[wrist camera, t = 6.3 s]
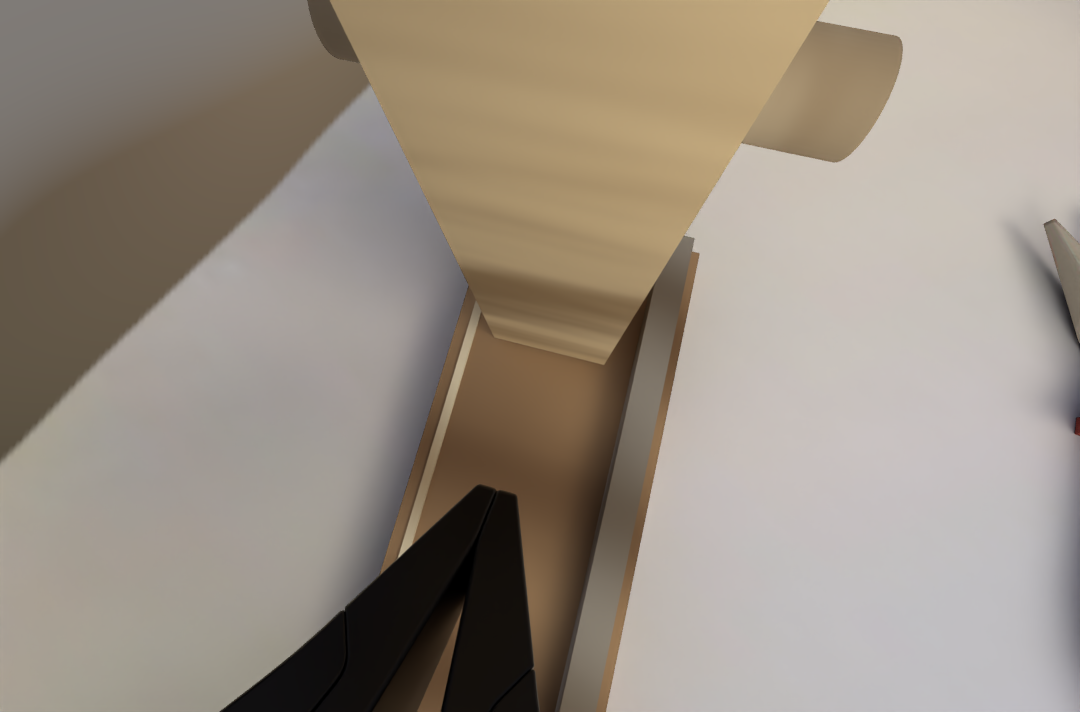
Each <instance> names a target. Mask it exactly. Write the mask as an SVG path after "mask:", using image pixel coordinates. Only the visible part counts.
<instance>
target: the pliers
mask: <svg viewBox="0 0 1080 712" xmlns="http://www.w3.org/2000/svg"><path fill="white" fill-rule="evenodd" d="M1044 228H1045V231H1046V234H1047V238H1048V241H1049V244H1050V248H1051V251H1052V254H1053V258H1054V261H1055V264H1056V268H1057V271H1058V274H1059V278H1060V281H1061V284H1062V288H1063V291H1064V295H1065V298H1066V301H1067V305H1068V308H1069V311H1070V315H1071V318H1072V321H1073V325H1074V328H1075V331H1076V335H1077V338H1078V341H1079V343H1080V244H1079V243H1078V242H1077V241H1076V240H1075V239H1074V238H1073V237H1072V235H1071V234H1070V233H1069V232H1068V231H1067V230H1066V229H1065V228H1064V227H1063V226H1062V225H1061V224H1060V223H1059V222H1058V221H1057V220H1056V219H1053V220H1051V221H1049V222H1046V223H1044ZM1075 434H1076V435H1079V436H1080V417H1078V418H1076V427H1075Z"/></svg>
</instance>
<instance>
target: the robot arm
mask: <svg viewBox="0 0 1080 712" xmlns="http://www.w3.org/2000/svg"><path fill="white" fill-rule="evenodd" d="M461 611H462V613H461ZM460 613H461V618H460V623H459V627H458V632H457V637H456V641H455V646H454V651H453V656H452V660H451V665H450V670H449V674H448V679H447V684H446V689H445V693H444V698H443V703H442V707H441V712H540V708H539V700H538V692H537V682H536V673H535V670H533V669H534V666H535V665H534V655H533V645H532V635H531V625H530V616H529V606H528V596H527V586H526V576H525V567H524V557H523V547H522V537H521V527H520V518H519V508H518V498H517V495H516V494H514V493H511V492H507V491H504V490H498V491H497V490H496V489H495V488H493V487H490V486H486V485H482V484H478V485H476V486H475V487H474V488H473V489H472V490H471V491H469V492H468V493H467V494H466V495H465V496H464V497H463V498H462V499H461V500H460V501H459V502H458V503H457V504H456V505H454V506H453V507H452V508H451V509H450V510H449V511H448V512H447V513H446V514H445V515H444V516H443V517H442V518H440V519H439V520H438V521H437V522H436V523H435V524H434V525H433V526H432V527H431V528H430V529H429V530H428V531H426V532H425V533H424V534H423V535H422V536H421V537H420V538H419V539H418V540H417V541H416V542H415V543H414V544H413V545H411V546H410V547H409V548H408V549H407V550H406V551H405V552H404V553H403V554H402V555H401V556H400V557H399V558H397V559H396V560H395V561H394V562H393V563H392V564H391V565H390V566H389V567H388V568H387V569H386V570H385V571H384V572H382V573H381V574H380V575H379V576H378V577H377V578H376V579H375V580H374V581H373V582H372V583H371V584H370V585H368V586H367V587H366V588H365V589H364V590H363V591H362V592H361V593H360V594H359V595H358V596H357V597H356V598H355V599H353V600H352V601H351V602H350V603H349V604H348V605H347V606H346V607H345V611H343V610H342V611H340V612H339V613H338V614H337V615H336V616H335V617H334V618H333V619H332V620H331V621H330V622H328V623H327V624H326V625H325V626H324V627H323V628H322V629H321V630H320V631H319V632H317V633H316V634H315V635H314V636H313V637H312V638H311V639H310V640H308V641H307V642H306V643H305V644H304V645H303V646H302V647H300V648H299V649H298V650H297V651H296V652H295V653H294V654H292V655H291V656H290V657H289V658H287V659H286V660H285V661H284V662H282V663H281V664H280V665H279V666H277V667H276V668H275V669H274V670H272V671H271V672H270V673H269V674H267V675H266V676H265V677H264V678H262V679H261V680H260V681H259V682H257V683H256V684H255V685H253V686H252V687H251V688H250V689H248V690H247V691H246V692H244V693H243V694H242V695H240V696H239V697H238V698H237V699H235V700H234V701H233V702H231V703H230V704H229V705H227V706H226V707H225V708H224V709H222V710H221V711H220V712H417V710H418V708H419V706H420V704H421V701H422V699H423V697H424V695H425V692H426V690H427V688H428V686H429V683H430V681H431V679H432V677H433V674H434V672H435V670H436V668H437V665H438V663H439V661H440V659H441V656H442V654H443V652H444V650H445V647H446V645H447V643H448V640H449V638H450V636H451V634H452V631H453V629H454V627H455V625H456V622H457V620H458V618H459V616H460Z"/></svg>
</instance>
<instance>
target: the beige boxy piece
mask: <svg viewBox="0 0 1080 712" xmlns="http://www.w3.org/2000/svg"><path fill="white" fill-rule="evenodd" d="M828 2H829V0H308V6H309V11H310V15H311V19H312V22H313V25H314V28H315V30H316V33H317V35H318V37H319V39H320V41H321V42H322V44H323V46H324V47H325V48H326V50H327V51H328V52H329V53H330V54H331V55H332V56H334V57H336V58H338V59H342V60H347V61H352V62H356V63H360V64H361V66H362V68H363V70H364V72H365V74H366V76H367V78H368V80H369V82H370V84H371V86H372V88H373V90H374V92H375V94H376V96H377V98H378V100H379V103H380V105H381V107H382V109H383V111H384V113H385V115H386V117H387V119H388V121H389V123H390V125H391V127H392V129H393V131H394V133H395V135H396V137H397V139H398V141H399V143H400V146H401V148H402V150H403V152H404V154H405V156H406V158H407V160H408V162H409V164H410V166H411V168H412V170H413V172H414V174H415V176H416V178H417V180H418V182H419V184H420V186H421V189H422V191H423V193H424V195H425V197H426V199H427V201H428V203H429V205H430V207H431V209H432V211H433V213H434V215H435V217H436V219H437V221H438V223H439V225H440V227H441V229H442V231H443V234H444V236H445V238H446V240H447V242H448V244H449V246H450V248H451V250H452V252H453V254H454V256H455V258H456V260H457V262H458V264H459V266H460V268H461V270H462V272H463V274H464V277H465V279H466V281H467V283H468V285H469V287H470V289H471V291H472V293H473V295H474V297H475V299H476V301H477V303H478V305H479V307H480V309H481V311H482V313H483V315H484V317H485V320H486V322H487V324H488V326H489V328H490V330H491V332H492V334H493V336H494V338H498V339H502V340H506V341H510V342H514V343H518V344H522V345H526V346H530V347H534V348H538V349H542V350H546V351H550V352H554V353H558V354H562V355H566V356H570V357H574V358H578V359H582V360H586V361H590V362H594V363H598V364H602V365H604V364H605V363H606V361H607V359H608V358H609V356H610V354H611V353H612V351H613V350H614V348H615V346H616V345H617V343H618V341H619V340H620V338H621V337H622V335H623V333H624V332H625V330H626V329H627V327H628V325H629V324H630V322H631V320H632V319H633V317H634V316H635V314H636V312H637V311H638V309H639V308H640V306H641V304H642V303H643V301H644V299H645V298H646V296H647V295H648V293H649V291H650V290H651V288H652V286H653V285H654V283H655V282H656V280H657V278H658V277H659V275H660V274H661V272H662V270H663V269H664V267H665V265H666V264H667V262H668V261H669V259H670V257H671V256H672V254H673V253H674V251H675V249H676V248H677V246H678V244H679V243H680V241H681V240H682V238H683V236H684V235H685V233H686V232H687V230H688V228H689V227H690V225H691V223H692V222H693V220H694V219H695V217H696V215H697V214H698V212H699V210H700V209H701V207H702V206H703V204H704V202H705V201H706V199H707V198H708V196H709V194H710V193H711V191H712V189H713V188H714V186H715V185H716V183H717V181H718V180H719V178H720V177H721V175H722V173H723V172H724V170H725V168H726V167H727V165H728V164H729V162H730V160H731V159H732V157H733V155H734V154H735V152H736V151H737V149H738V147H739V146H740V144H741V143H743V144H748V145H753V146H757V147H762V148H767V149H772V150H777V151H781V152H786V153H791V154H796V155H800V156H805V157H810V158H815V159H820V160H824V161H829V162H839V161H841V160H843V159H845V158H846V157H847V156H849V155H850V154H851V153H852V152H853V151H854V150H855V149H856V148H857V147H858V146H859V145H860V143H861V142H862V141H863V140H864V138H865V137H866V136H867V134H868V133H869V132H870V130H871V129H872V127H873V126H874V124H875V122H876V121H877V119H878V117H879V116H880V114H881V112H882V110H883V108H884V106H885V104H886V102H887V100H888V98H889V96H890V94H891V92H892V89H893V87H894V84H895V82H896V79H897V76H898V72H899V69H900V65H901V60H902V52H903V47H902V42H901V39H900V38H899V37H897V36H894V35H889V34H883V33H878V32H873V31H867V30H862V29H857V28H851V27H846V26H841V25H835V24H830V23H825V22H819V21H817V20H818V18H819V16H820V15H821V13H822V12H823V10H824V8H825V7H826V5H827V3H828Z"/></svg>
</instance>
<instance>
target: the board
mask: <svg viewBox="0 0 1080 712" xmlns="http://www.w3.org/2000/svg"><path fill="white" fill-rule="evenodd" d="M693 243H694V238H691V237H687V236H683V238H682V240H681V241H680V243H679V244H678V246H677V248H676V249H675V251H674V253H673V254H672V256H671V257H670V259H669V261H668V262H667V264H666V265H665V267H664V269H663V270H662V272H661V274H660V275H659V277H658V278H657V280H656V282H655V283H654V285H653V286H652V288H651V290H650V291H649V293H648V295H647V296H646V298H645V299H644V301H643V303H642V304H641V306H640V308H639V309H638V311H637V312H636V314H635V316H634V317H633V319H632V320H631V322H630V324H629V325H628V327H627V329H626V330H625V332H624V333H623V335H622V337H621V338H620V340H619V341H618V343H617V345H616V346H615V348H614V350H613V351H612V353H611V354H610V356H609V358H608V359H607V361H606V363H605V364H604V365H602V364H598V363H594V362H590V361H586V360H582V359H578V358H574V357H570V356H566V355H562V354H558V353H554V352H550V351H546V350H542V349H538V348H534V347H530V346H526V345H522V344H518V343H514V342H510V341H506V340H502V339H498V338H494V336H493V334H492V332H491V330H490V328H489V326H488V324H487V322H486V320H485V317H484V315H483V313H482V311H481V309H480V307H479V305H478V303H477V301H476V299H475V297H474V295H473V293H472V291H471V289H470V287H469V286H468V289H467V292H466V296H465V299H464V302H463V305H462V309H461V312H460V315H459V318H458V322H457V325H456V328H455V331H454V335H453V338H452V341H451V344H450V348H449V351H448V354H447V357H446V361H445V364H444V367H443V370H442V373H441V377H440V380H439V383H438V386H437V390H436V393H435V396H434V399H433V403H432V406H431V409H430V412H429V416H428V419H427V422H426V425H425V429H424V432H423V435H422V438H421V442H420V445H419V448H418V451H417V455H416V458H415V461H414V464H413V468H412V471H411V474H410V477H409V481H408V484H407V487H406V490H405V493H404V497H403V500H402V503H401V506H400V510H399V513H398V516H397V519H396V523H395V526H394V529H393V532H392V536H391V539H390V542H389V545H388V549H387V552H386V555H385V558H384V562H383V565H382V568H381V571H380V574H381V573H382V572H384V571H385V570H386V569H387V568H388V567H389V566H390V565H391V564H392V563H393V562H394V561H395V560H396V559H397V558H399V557H400V556H401V555H402V554H403V553H404V552H405V551H406V550H407V549H408V548H409V547H410V546H411V545H413V544H414V543H415V542H416V541H417V540H418V539H419V538H420V537H421V536H422V535H423V534H424V533H425V532H426V531H428V530H429V529H430V528H431V527H432V526H433V525H434V524H435V523H436V522H437V521H438V520H439V519H440V518H442V517H443V516H444V515H445V514H446V513H447V512H448V511H449V510H450V509H451V508H452V507H453V506H454V505H456V504H457V503H458V502H459V501H460V500H461V499H462V498H463V497H464V496H465V495H466V494H467V493H468V492H469V491H471V490H472V489H473V488H474V487H475V486H476V485H478V484H482V485H486V486H490V487H493V488H495V489H496V490H497V491H498V490H504V491H507V492H511V493H514V494H516V495H517V498H518V508H519V518H520V527H521V537H522V547H523V557H524V567H525V576H526V586H527V596H528V606H529V616H530V625H531V635H532V645H533V655H534V665H535V666H534V669H533V670H535V673H536V682H537V692H538V700H539V708H540V712H606V708H607V703H608V698H609V693H610V688H611V684H612V679H613V674H614V669H615V664H616V659H617V654H618V649H619V645H620V640H621V635H622V630H623V625H624V620H625V615H626V610H627V605H628V601H629V596H630V591H631V586H632V581H633V576H634V571H635V566H636V561H637V557H638V552H639V547H640V542H641V537H642V532H643V527H644V522H645V518H646V513H647V508H648V503H649V498H650V493H651V488H652V483H653V478H654V474H655V469H656V464H657V459H658V454H659V449H660V444H661V439H662V434H663V430H664V425H665V420H666V415H667V410H668V405H669V400H670V395H671V391H672V386H673V381H674V376H675V371H676V366H677V361H678V356H679V351H680V347H681V342H682V337H683V332H684V327H685V322H686V317H687V312H688V307H689V303H690V298H691V293H692V288H693V283H694V278H695V273H696V268H697V264H698V259H699V253H695V252H692V248H693ZM461 613H462V611H461ZM461 613H460V616H459V618H458V620H457V622H456V625H455V627H454V629H453V631H452V634H451V636H450V638H449V640H448V643H447V645H446V647H445V650H444V652H443V654H442V656H441V659H440V661H439V663H438V665H437V668H436V670H435V672H434V674H433V677H432V679H431V681H430V683H429V686H428V688H427V690H426V692H425V695H424V697H423V699H422V701H421V704H420V706H419V708H418V710H417V712H441V707H442V703H443V698H444V693H445V689H446V684H447V679H448V674H449V670H450V665H451V660H452V656H453V651H454V646H455V641H456V637H457V632H458V627H459V623H460V618H461Z"/></svg>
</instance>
